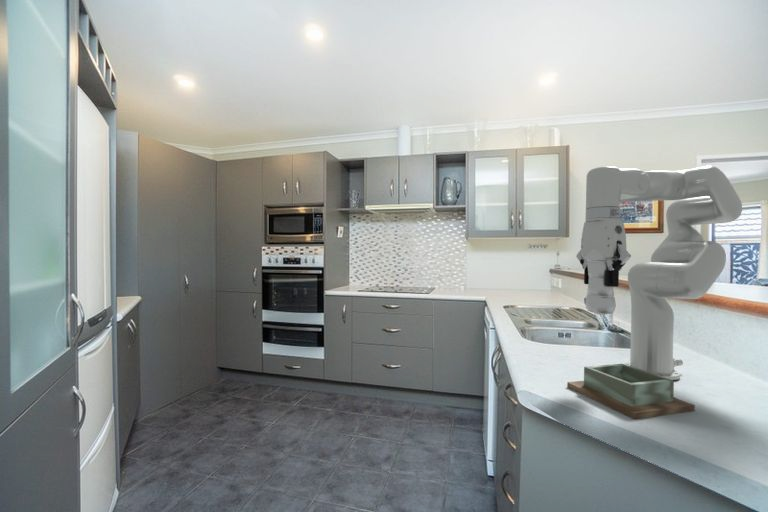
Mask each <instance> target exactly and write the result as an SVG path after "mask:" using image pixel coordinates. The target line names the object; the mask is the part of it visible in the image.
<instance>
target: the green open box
mask: <svg viewBox="0 0 768 512" xmlns="http://www.w3.org/2000/svg"><path fill="white" fill-rule="evenodd" d="M566 383H567V385H566V386H567V388H568V389H571V390H572V391H574V392H577V393H579V394H581V395H583V396H585V397H587V398H590V399H592V400H593V401H596V402H597V403H600V404H602V405H604V406H606V407H608V408H610V409H612V410H615V411H616V412H619V413H620V414H623V415H625V416H627V417H628V418H630V419H634V420H637V419H643V418H650V417H656V416H657V417H658V416H665V415H672V414H679V413H680V414H681V413H687V412H694V411H696V410H695V406H696V405H695V404H693V403H690V402H688V401H685V400H682V399H679V398H677V397H674V395H675V394H674V389H675V388H674V387H675V384H674V383H675V380H670V379H667V378H664V377H661V376H658V375H655V374H652V373H649V372H646V371H643V370H640V369H637V368H634V367H631V366H628V365H625V363H613V364H602V365H589V366H584V367H583V380H579V381H578V380H576V381H567V382H566Z"/></svg>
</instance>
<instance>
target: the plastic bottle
mask: <svg viewBox="0 0 768 512" xmlns="http://www.w3.org/2000/svg"><path fill="white" fill-rule="evenodd" d="M612 258H615V256H613V257H612ZM586 260H587V267H588V277H589V279H588V284H587V292H586V297H585V301H584V302H585V309H586V310H587V312H590V313H593V314H597V315H608V314H613V313H614V312H615V311H616V307H617V303H616V297H615V293H614V292H615V291H614V290H615V289H614V287H608V286H606V270H609V269H608V266H607V263H606V259H605V258H603V256H602V254H601V253H600V252H599V251H598V250H597V249H591V250H590V251H589V252H588V254H587V256H586ZM612 262H613V264H614V261H612Z"/></svg>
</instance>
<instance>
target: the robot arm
mask: <svg viewBox="0 0 768 512" xmlns="http://www.w3.org/2000/svg"><path fill="white" fill-rule="evenodd" d="M585 184H586V185H585V218H584V219H585V222H584V223H583V227H582V232H581V239H580V240H581V241H580V250H579V251H578V253H577V254H576V258H577V260H578V261H579V263H580V265H581V266H582V269H583V270H584V274H583V284H585V285H588V279H589V277H588V267H587V260H586V256H587V254H588V252H589V251H590V250H591V249H597V250H598V251H599V252H600V253H601V254H602V256H603V258H605V259H606V263H607V266H608V269H609V270H606V286H608V287H613V288H614V287H615V288H616V287H618V288H619V283H620V282H619V280H620V279H619V277H620V275H619V274H620V272H621V271H622V268H623V267H624V266H625V264H627V262H628V261H629V260H630V259H631V258H632V255H631V254H630V252H629V251H628V250H627V235H626V229H625V228H626V227H625V224H624V221H623V219H621V215H622V214H623V209H622V208H621V203H625V202H629V203H630V202H633V203H635V202H655V201H657V202H658V201H673V202H672V203H671V204H669V206H668V207H667V209H666V212H665V215H666V216H665V217H666V218H665V219H666V225H667V233H668V234H667V236H666V237H665V238H664V240H663V241H662V242H661V243H660V244H659V245H658V246H657V248H656V249H655V250H654V252H653V253H652V254H651V257H650V261H649V262H647V261H646V262H640V263H637V264H634V265H633V266H631V268H629V270H628V273H627V283H628V289H629V293H630V301H631V302H630V305H631V311H630V312H631V313H630V316H631V317H630V351H629V352H630V356H629V357H630V358H629V359H630V360H629V361H627V362H624V364H625V365H628V366H631V367H634V368H637V369H640V370H643V371H646V372H649V373H652V374H655V375H658V376H661V377H664V378H667V379H670V380H673V381H675V380H676V381H677V380H680V378H681V374H680V372H679V371H677V370H675V367H678V366H679V367H680V366H682V365H683V364H684V361H683V360H682V359H680V358H674V324H675V323H674V321H675V316H674V315H675V314H674V311H673V308H672V307H671V305H670V303H669V302H668V300H667V299H666V298H672V299H682V300H698V299H700V298H703V296H705V294H706V293H708V291H709V290H710V288H712V286H713V284H714V283H715V282H716V281H717V279H718V278H719V277H720V275H721V274H722V272H723V271H724V269H725V266H726V262H727V254H726V250H725V248H724V247H723V246H722V245H721V244H720V243H718V242H716V241H714V240H713V241H712V240H704V237H703V235H702V234H701V233H700V232H699V231H698V230H697V229H696V228H695V227H693V226H696V225H698V226H699V225H711V224H712V225H713V224H714V225H715V224H726V223H732V222H735V221H736V220H737V219H738V218H739V217H741V215H742V212H743V205H742V204H743V203H742V201H741V198H740V196H739V195H738V193H737V192H736V189H735V188H734V186H733V185H732V183H731V181H730V180H729V179H728V177H727V175H726V174H725V173H724V172H723V171H722V170H721V169H720V168H718V167H716V166H714V165H706V166H705V165H704V166H701V167H695V168H689V169H682V170H650V171H649V170H647V171H643V170H642V169H638V168H619V167H617V166H609V165H607V166H600V167H599V166H598V167H595V168H592V169H590V170H588V172H587V174H586V183H585ZM613 256H615V258H612V257H613ZM612 261H614V264H613V262H612Z"/></svg>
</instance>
